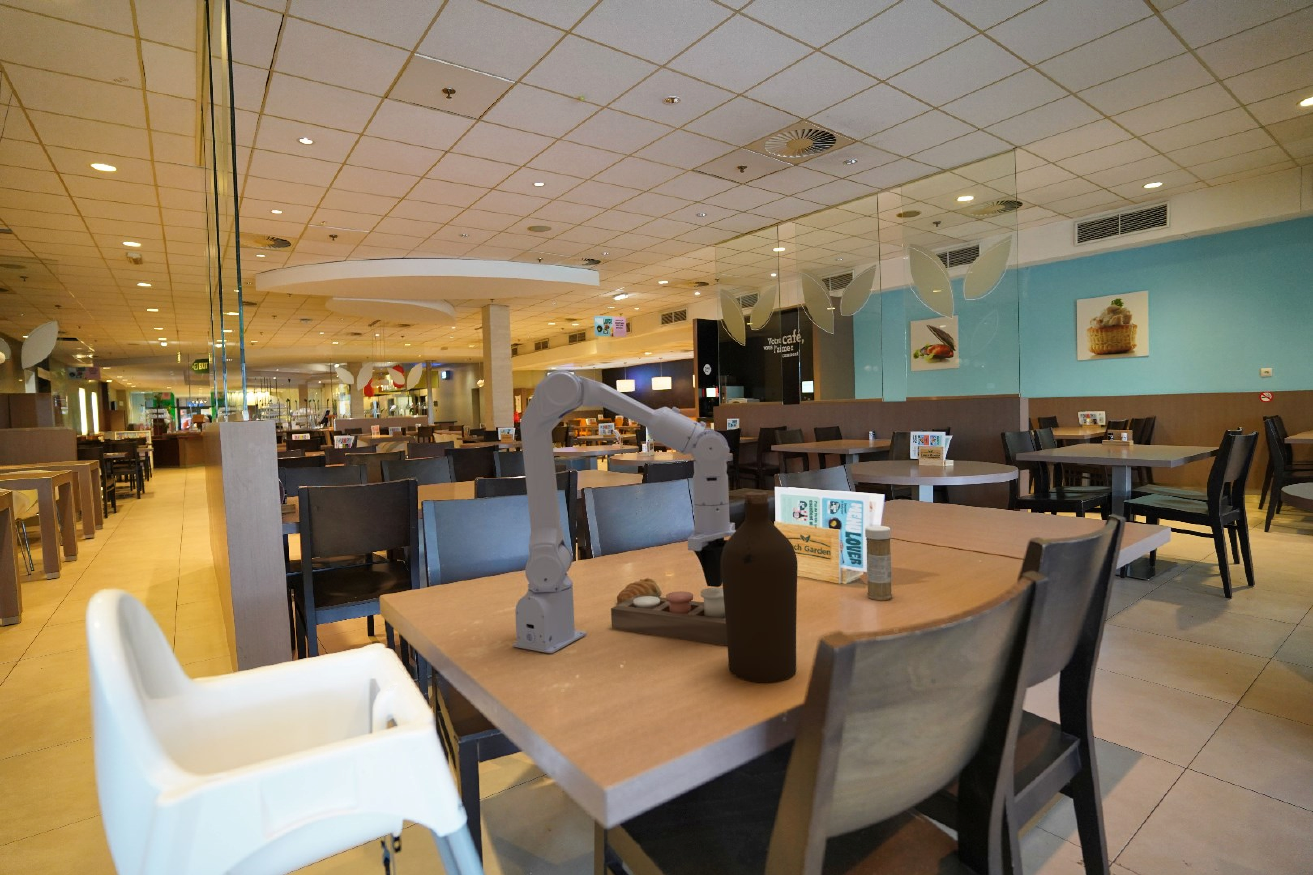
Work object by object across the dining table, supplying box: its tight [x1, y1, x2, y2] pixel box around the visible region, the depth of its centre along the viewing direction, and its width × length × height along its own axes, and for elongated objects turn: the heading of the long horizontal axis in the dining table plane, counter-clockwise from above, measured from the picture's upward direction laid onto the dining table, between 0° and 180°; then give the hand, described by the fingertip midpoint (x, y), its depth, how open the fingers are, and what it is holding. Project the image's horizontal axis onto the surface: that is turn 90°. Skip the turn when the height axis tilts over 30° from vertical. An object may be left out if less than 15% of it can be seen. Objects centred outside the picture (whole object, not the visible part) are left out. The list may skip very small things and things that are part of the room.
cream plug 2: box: [700, 587, 725, 618], centre depth 108 cm, size 5×5×4 cm
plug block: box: [610, 595, 727, 647], centre depth 111 cm, size 9×22×4 cm, turn 61°
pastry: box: [616, 577, 663, 605], centre depth 129 cm, size 9×7×4 cm
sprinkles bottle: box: [864, 525, 893, 601], centre depth 124 cm, size 5×5×14 cm
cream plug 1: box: [633, 596, 660, 610], centre depth 114 cm, size 5×5×4 cm
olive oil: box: [721, 491, 799, 683], centre depth 92 cm, size 11×11×25 cm
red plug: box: [665, 591, 694, 614], centre depth 111 cm, size 5×5×4 cm
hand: (714, 585), depth 108 cm, fingers closed
